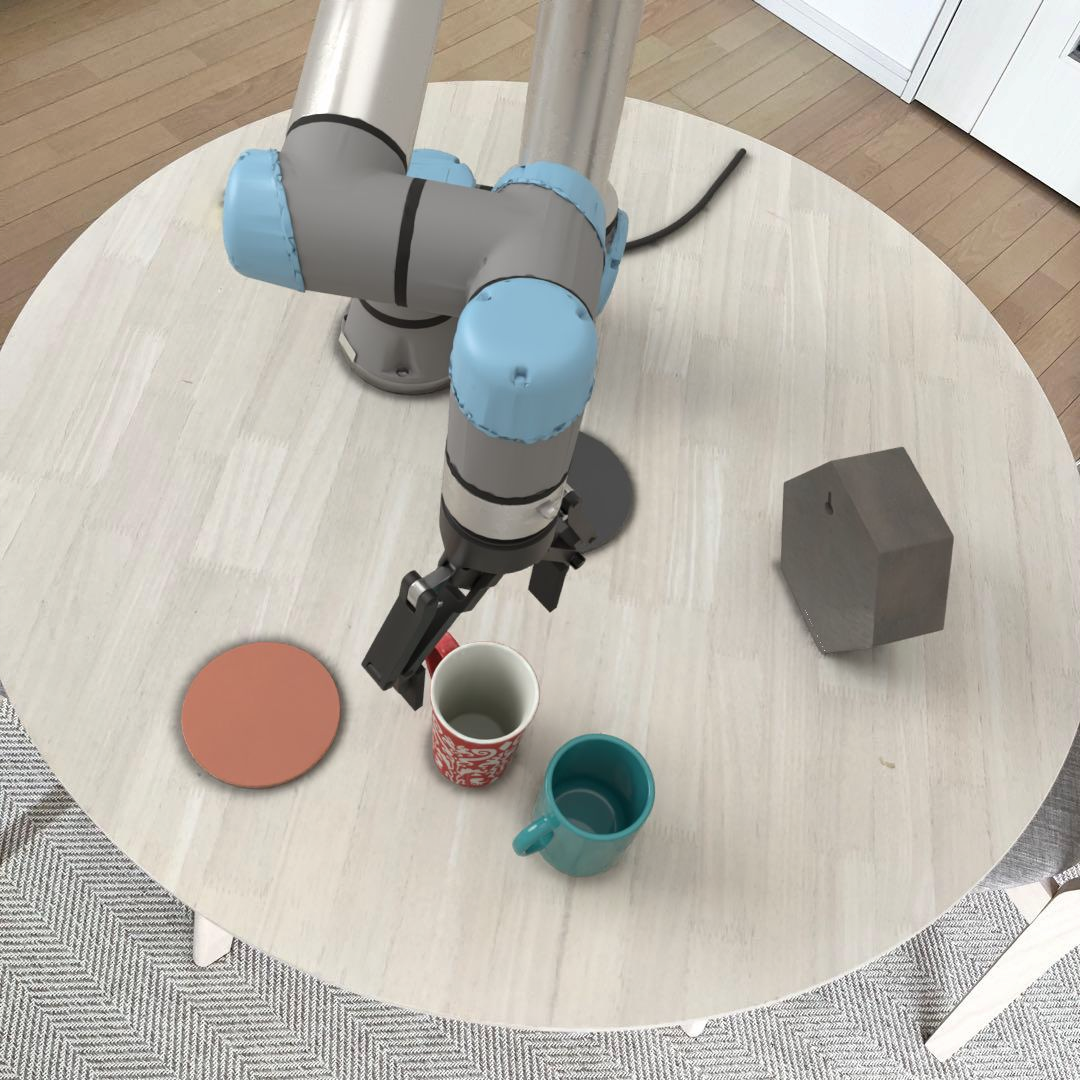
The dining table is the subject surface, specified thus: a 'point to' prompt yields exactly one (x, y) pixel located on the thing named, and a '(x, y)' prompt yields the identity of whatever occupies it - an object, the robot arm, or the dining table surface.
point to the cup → (589, 805)
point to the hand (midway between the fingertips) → (477, 645)
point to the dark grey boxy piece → (865, 551)
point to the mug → (478, 708)
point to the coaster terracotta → (260, 714)
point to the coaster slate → (599, 489)
